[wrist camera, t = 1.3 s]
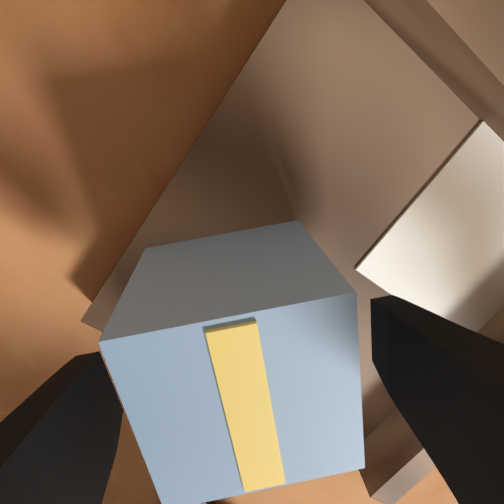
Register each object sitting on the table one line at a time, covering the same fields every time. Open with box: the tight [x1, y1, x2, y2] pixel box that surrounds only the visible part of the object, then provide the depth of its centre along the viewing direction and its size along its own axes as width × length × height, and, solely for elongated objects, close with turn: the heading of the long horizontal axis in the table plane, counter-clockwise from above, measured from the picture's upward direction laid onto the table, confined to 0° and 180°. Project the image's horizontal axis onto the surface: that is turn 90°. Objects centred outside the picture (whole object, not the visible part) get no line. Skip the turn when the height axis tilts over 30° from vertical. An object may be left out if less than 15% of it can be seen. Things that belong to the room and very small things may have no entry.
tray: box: [81, 0, 504, 504], centre depth 12 cm, size 14×14×3 cm
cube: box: [98, 220, 365, 504], centre depth 10 cm, size 5×5×5 cm
